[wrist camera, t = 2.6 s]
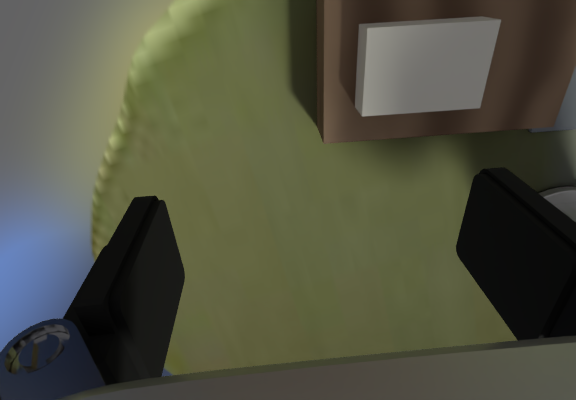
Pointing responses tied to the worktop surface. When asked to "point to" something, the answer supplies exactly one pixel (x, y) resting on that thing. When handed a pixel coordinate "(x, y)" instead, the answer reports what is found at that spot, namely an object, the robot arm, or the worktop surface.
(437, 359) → the robot arm
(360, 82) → the tile
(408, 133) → the deck
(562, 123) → the mat
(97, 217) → the worktop surface
